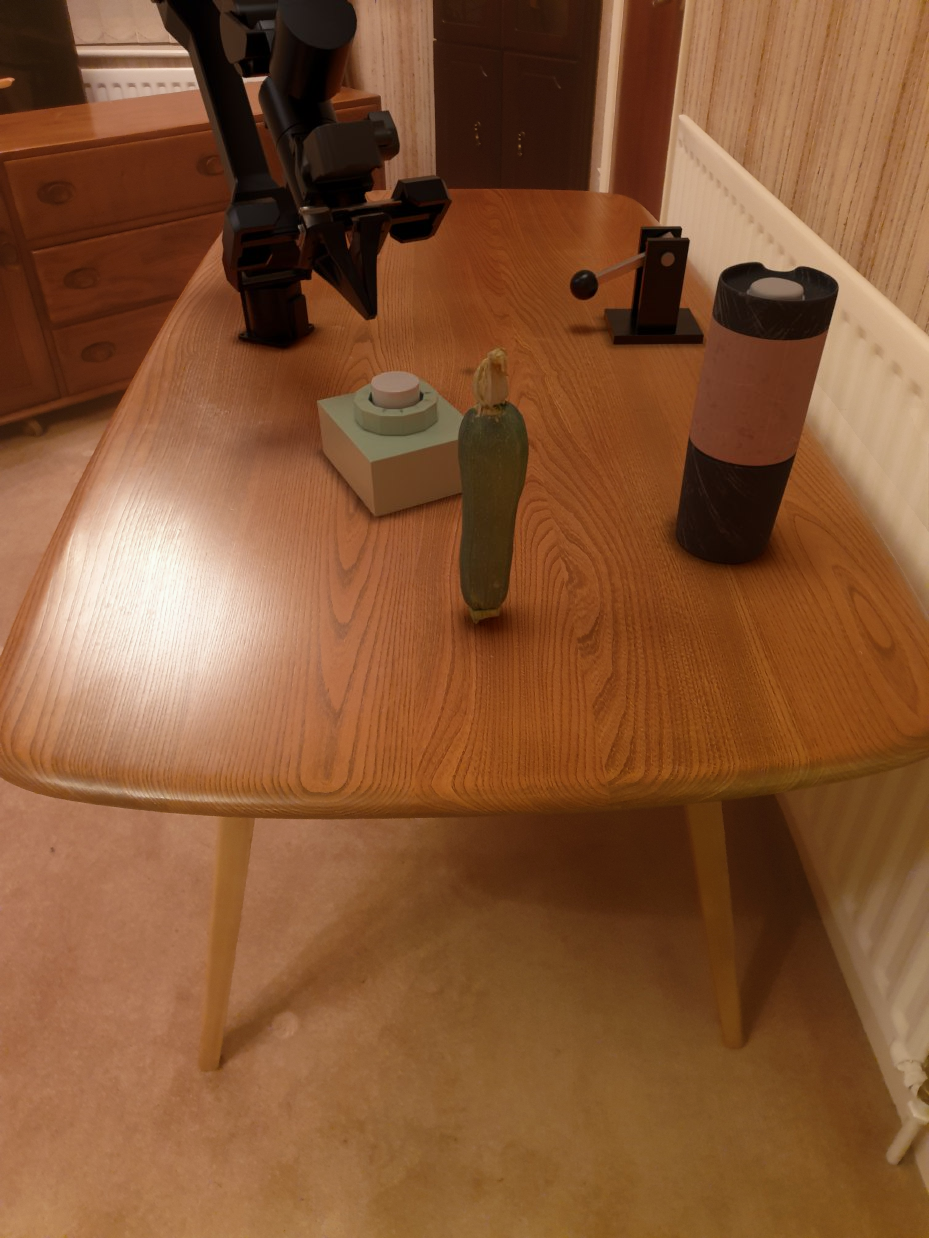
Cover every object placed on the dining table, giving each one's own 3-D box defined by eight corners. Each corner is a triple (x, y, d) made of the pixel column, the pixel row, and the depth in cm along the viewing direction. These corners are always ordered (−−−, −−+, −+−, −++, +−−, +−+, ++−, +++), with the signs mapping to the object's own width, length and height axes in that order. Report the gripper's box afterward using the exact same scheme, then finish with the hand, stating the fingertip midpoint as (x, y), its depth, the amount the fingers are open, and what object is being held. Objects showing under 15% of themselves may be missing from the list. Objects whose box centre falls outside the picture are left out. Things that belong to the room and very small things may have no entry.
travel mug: (714, 577, 64) (775, 310, 51) (652, 526, 69) (692, 272, 57) (792, 549, 67) (868, 288, 54) (726, 501, 72) (781, 253, 59)
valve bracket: (613, 346, 97) (624, 245, 90) (603, 318, 103) (613, 222, 96) (702, 345, 97) (720, 244, 90) (687, 317, 103) (703, 221, 96)
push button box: (323, 453, 79) (314, 381, 74) (422, 428, 82) (419, 357, 78) (375, 517, 71) (368, 441, 66) (482, 487, 74) (483, 412, 70)
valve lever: (576, 309, 96) (567, 282, 94) (573, 299, 99) (564, 273, 97) (681, 263, 93) (674, 235, 91) (676, 254, 96) (668, 226, 94)
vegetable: (457, 595, 63) (453, 325, 50) (516, 592, 63) (528, 322, 50) (462, 635, 59) (459, 357, 46) (524, 632, 60) (539, 354, 47)
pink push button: (364, 396, 73) (363, 376, 72) (407, 386, 74) (406, 367, 73) (383, 416, 70) (382, 396, 69) (428, 405, 71) (427, 385, 70)
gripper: (201, 82, 61) (274, 288, 60) (438, 61, 67) (506, 247, 67) (196, 179, 71) (258, 356, 71) (402, 153, 78) (460, 314, 77)
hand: (372, 317), depth 71 cm, fingers closed
